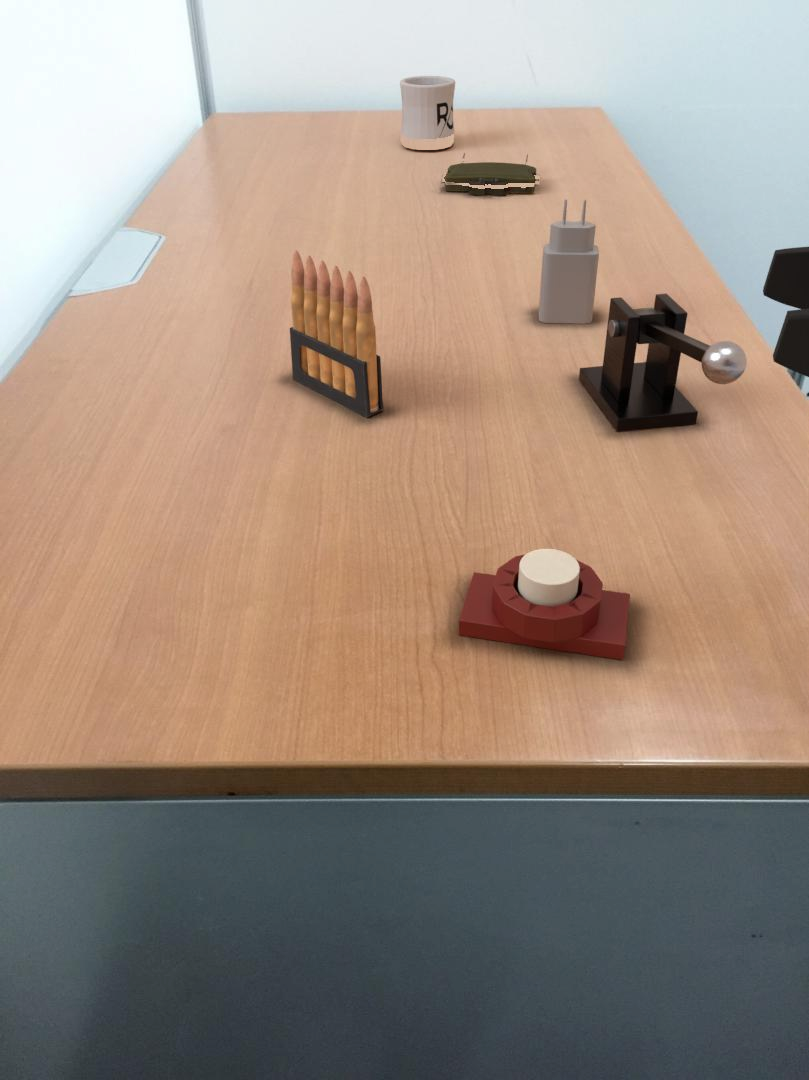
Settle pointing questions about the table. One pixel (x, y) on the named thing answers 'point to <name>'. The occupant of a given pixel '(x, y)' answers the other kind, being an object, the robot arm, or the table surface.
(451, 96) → the mug
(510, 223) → the table surface
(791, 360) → the robot arm
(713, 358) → the lever
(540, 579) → the button
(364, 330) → the ammunition clip
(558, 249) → the power adapter
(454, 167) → the landmine
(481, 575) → the block
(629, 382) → the black pivot stand
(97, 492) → the table surface
